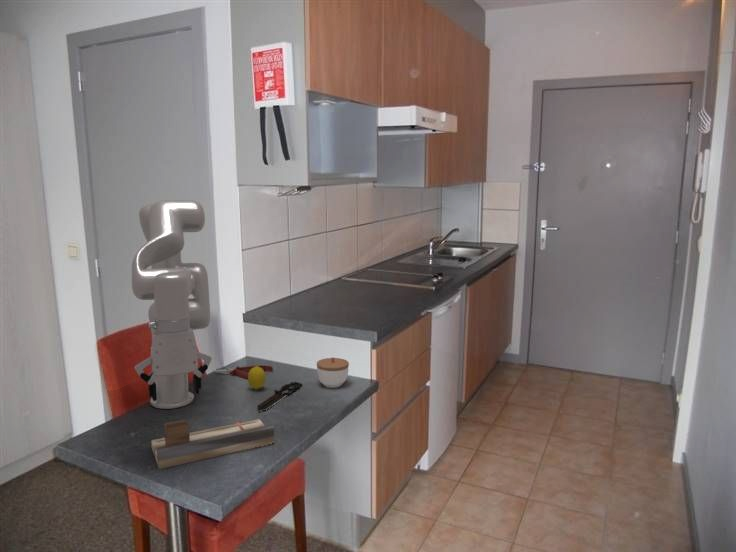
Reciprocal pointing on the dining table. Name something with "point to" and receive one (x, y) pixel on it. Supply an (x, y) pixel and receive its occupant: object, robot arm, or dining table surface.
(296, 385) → the knife
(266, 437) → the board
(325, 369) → the lidded jar
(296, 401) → the dining table surface
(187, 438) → the brown block with peg
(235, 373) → the pliers
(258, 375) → the lemon
